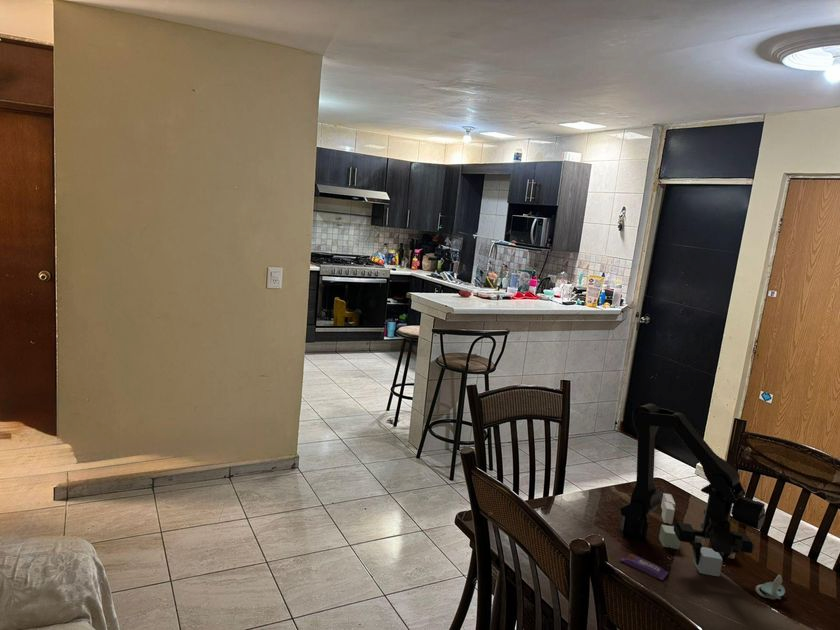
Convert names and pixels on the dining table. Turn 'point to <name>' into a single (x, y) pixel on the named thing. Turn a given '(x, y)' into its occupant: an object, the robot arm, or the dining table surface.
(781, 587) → the pacifier
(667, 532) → the sage block
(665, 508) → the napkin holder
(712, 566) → the blue block
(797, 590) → the dining table surface
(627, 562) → the snack package
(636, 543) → the dining table surface
